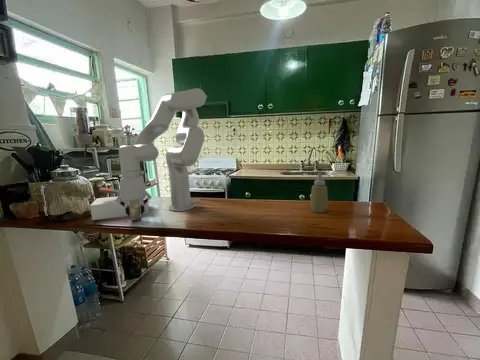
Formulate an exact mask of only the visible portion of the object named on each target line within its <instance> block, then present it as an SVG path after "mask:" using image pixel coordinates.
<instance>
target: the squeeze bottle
mask: <svg viewBox="0 0 480 360" xmlns="http://www.w3.org/2000/svg"><path fill="white" fill-rule="evenodd" d="M322 176H323V175H322V172H318V174H317V177H316V180H314V182H313V185H312V186H311V190H310V191H311V193H310V202H309V205H310V208H311V210H312V212H313V213H319V214H320V213H322V214H323V213H326V211H327V209H328V205H329V197H328V186H327V185H326V181H325V180H324V179H323V177H322Z"/></svg>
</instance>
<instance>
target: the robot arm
mask: <svg viewBox="0 0 480 360" xmlns="http://www.w3.org/2000/svg"><path fill="white" fill-rule="evenodd" d="M206 101H207V97H206V93H205V91H204V90H202V89H200V87H199V88H198V87H197V88H192V89H187V90H186V89H185V90H182V91H176V92H172V93H169V94H168V93H167V94H165V95H163V96H162V97H161V98H160V100H159V101H158V103H157V106H156V107H155V110H154V113H153V114H152V116H151V118H150V120H149V121H148V122H147V124H146V125H145V126H144V128H143V129H142V130H141V131H140V132H139V134H138V135H137V137H136V138H135V141H134V142H133V144H131V145H120V146H119V148H118V155H119V164H120V173H121V177H120V179H119V190H120V195H119V196H118V197H117V199H116V200H115V201H116V202H117V203H119V204H121V205H122V206H124V207H125V210H126V214H128V216H127V217H131V216H130V209H129V206H128V201H131V200H140V203H141V206H140V207H141V216H143V215H144V214H143V212H145V210H144V205H145V204H146V202H147V201H148V202H149V201H150V200H151V199H152V194H150V193H149V192H148V191H147V190H146V184H145V180H144V176H143V174H145V170H141V165H140V162H152V161H155V160H157V158H158V156H159V149H158V147H156V146H155V145H153V142H154V141H155V140H156V139H157V138H158V137H160V136H162V135H163V134H165V133H166V132H168V130H169V128H170V126H171V123H172V122H173V119H174V118H175V115H176V113H179V112H181V113H182V116H181V120H180V123H179V126H178V129H177V131H176V133H175V141H176V142H177V144H179V146H178V145H175V146H171V147H170V148H168V149H167V151H166V153H165V160H166V165H167V168H168V176H169V179H168V180H169V188H170V189H169V190H170V191H169V192H170V202H171V205H169V206H168V210H169V211H171V212H184V211H185V212H186V211H189V210H192V209H193V208H194V207H195V204H200V203H201V200H200V199H196V198H194V199H192V198H191V191H190V190H191V189H190V178H189V176H190V174H189V170H188V168H187V167H192V166H194V165H195V164H196V162H197V161H198V159H199V157H200V153H201V152H202V151H201V150H202V147H203V145H204V143H205V133H204V130H203V129H202V128H201V127H200V126H199V122H200V117H199V113H198V111H197V109H198V108H200V107H202V106H204V105H205V103H206ZM196 108H197V109H196ZM146 196H147V198H146ZM120 198H121V200H122V201H121V200H120ZM144 198H146V199H145V200H143V199H144ZM123 201H125V202H123Z"/></svg>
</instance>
